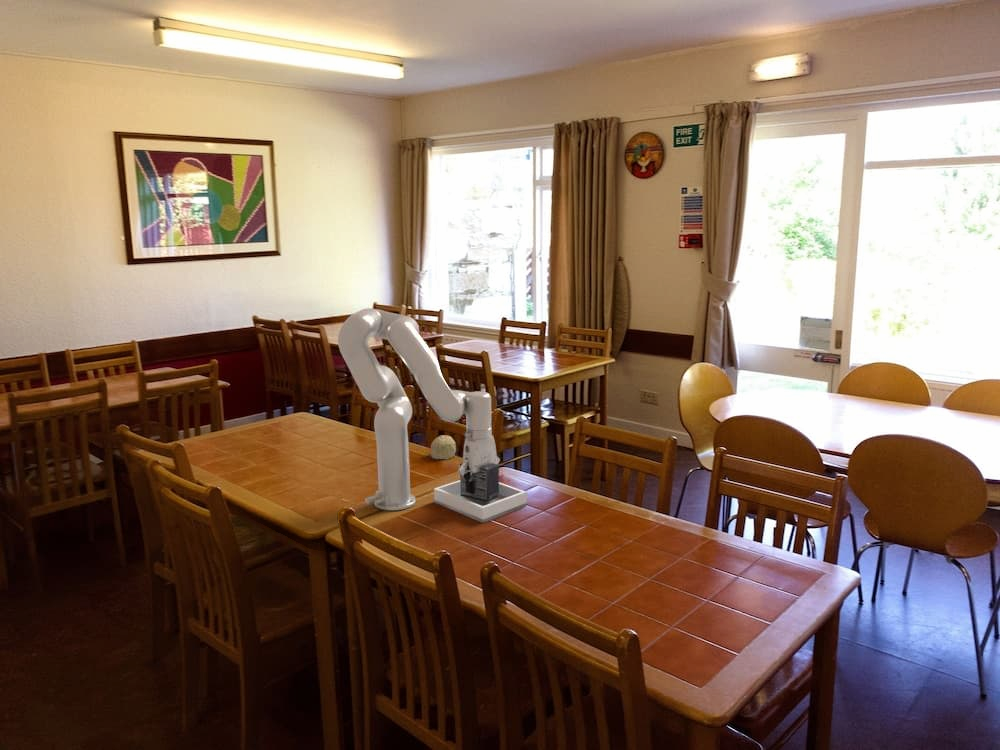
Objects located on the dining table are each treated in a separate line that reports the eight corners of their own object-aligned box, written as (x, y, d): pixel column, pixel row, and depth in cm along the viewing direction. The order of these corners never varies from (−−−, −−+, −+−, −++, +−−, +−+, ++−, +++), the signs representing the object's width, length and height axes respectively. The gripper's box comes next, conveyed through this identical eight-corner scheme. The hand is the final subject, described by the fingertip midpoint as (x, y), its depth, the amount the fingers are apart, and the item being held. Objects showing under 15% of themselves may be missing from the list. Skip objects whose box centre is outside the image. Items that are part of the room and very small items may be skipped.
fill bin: (482, 522, 204) (482, 508, 203) (434, 502, 220) (433, 488, 219) (526, 505, 216) (526, 491, 215) (477, 487, 232) (477, 474, 231)
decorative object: (437, 470, 259) (450, 450, 255) (420, 451, 263) (433, 431, 259) (453, 465, 267) (466, 446, 263) (436, 447, 271) (448, 428, 267)
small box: (500, 496, 217) (500, 463, 215) (488, 503, 212) (487, 469, 210) (472, 489, 223) (471, 457, 221) (459, 496, 218) (459, 463, 215)
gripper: (465, 441, 205) (466, 500, 208) (508, 429, 217) (508, 485, 220) (448, 436, 210) (449, 493, 214) (491, 425, 222) (492, 479, 226)
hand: (479, 488), depth 217 cm, fingers closed on small box, 7 cm apart
